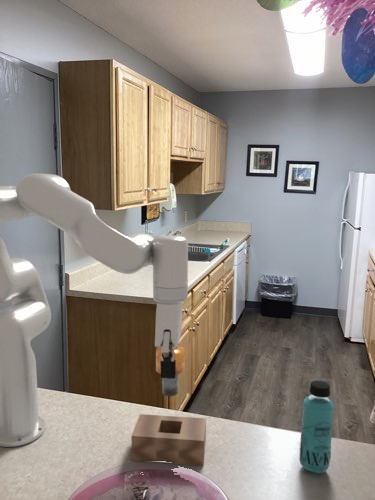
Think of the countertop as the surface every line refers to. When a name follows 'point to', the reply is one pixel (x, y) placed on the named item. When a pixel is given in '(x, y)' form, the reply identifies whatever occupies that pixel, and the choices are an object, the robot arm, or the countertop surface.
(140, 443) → the block
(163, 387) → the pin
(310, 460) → the beverage bottle
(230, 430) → the countertop surface
